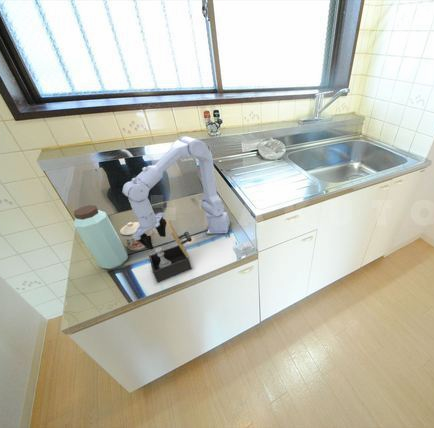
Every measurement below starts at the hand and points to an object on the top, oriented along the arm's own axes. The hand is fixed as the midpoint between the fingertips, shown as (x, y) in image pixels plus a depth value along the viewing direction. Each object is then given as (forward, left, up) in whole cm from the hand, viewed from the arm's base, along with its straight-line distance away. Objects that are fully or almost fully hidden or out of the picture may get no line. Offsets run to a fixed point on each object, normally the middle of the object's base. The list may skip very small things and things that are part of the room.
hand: (156, 242), depth 91 cm
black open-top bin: (-6, +5, -9) cm, 12 cm away
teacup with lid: (+13, -10, -9) cm, 19 cm away
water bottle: (+19, +1, -9) cm, 21 cm away
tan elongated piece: (-9, +3, +4) cm, 11 cm away
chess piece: (-3, +6, -8) cm, 10 cm away
